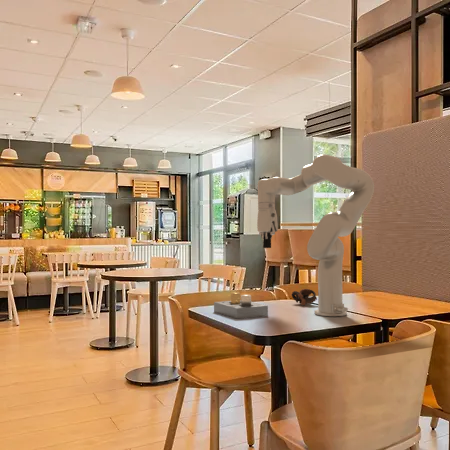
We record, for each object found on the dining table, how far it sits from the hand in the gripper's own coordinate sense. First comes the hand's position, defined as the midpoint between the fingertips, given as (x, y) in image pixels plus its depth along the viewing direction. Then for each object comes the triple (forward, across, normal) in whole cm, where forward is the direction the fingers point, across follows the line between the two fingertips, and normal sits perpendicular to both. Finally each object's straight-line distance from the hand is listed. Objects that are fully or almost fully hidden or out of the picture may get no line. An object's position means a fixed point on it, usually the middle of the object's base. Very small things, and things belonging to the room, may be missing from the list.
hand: (267, 247), depth 211 cm
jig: (+26, -9, +20) cm, 34 cm away
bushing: (+26, -5, +20) cm, 33 cm away
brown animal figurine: (+27, -2, -19) cm, 33 cm away
